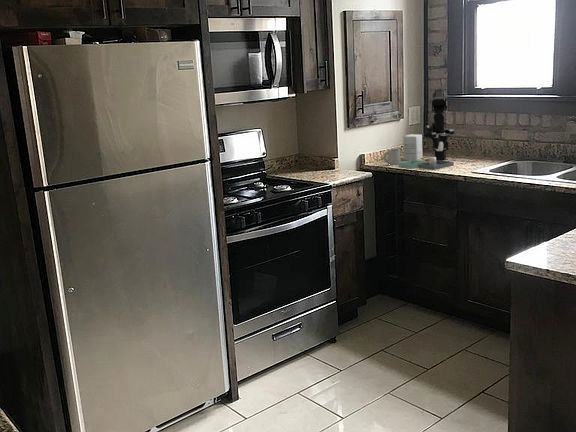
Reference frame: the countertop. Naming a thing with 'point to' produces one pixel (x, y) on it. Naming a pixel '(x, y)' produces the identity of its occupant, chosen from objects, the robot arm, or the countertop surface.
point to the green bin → (411, 163)
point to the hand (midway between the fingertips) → (439, 148)
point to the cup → (392, 157)
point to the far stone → (432, 161)
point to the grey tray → (438, 165)
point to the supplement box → (412, 147)
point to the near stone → (440, 146)
